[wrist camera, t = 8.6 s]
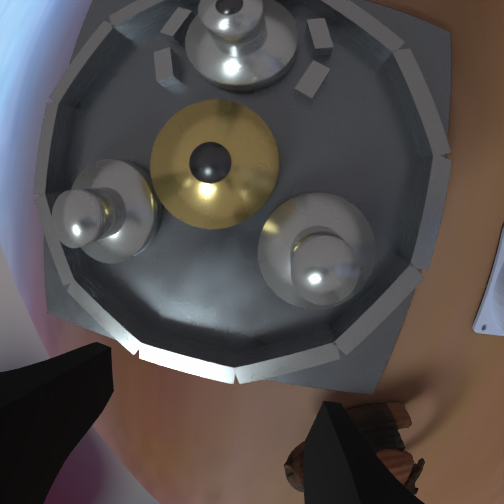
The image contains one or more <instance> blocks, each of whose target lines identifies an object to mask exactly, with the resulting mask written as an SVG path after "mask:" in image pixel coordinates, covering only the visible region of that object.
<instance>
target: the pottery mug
mask: <svg viewBox="0 0 504 504" xmlns="http://www.w3.org/2000/svg"><path fill="white" fill-rule="evenodd" d="M346 411H347V413H348V415H349V416H350V418H351V419H352V421H353V422H354V424H355V425H356V427H357V428H358V430H359V431H360V433H361V434H362V436H363V437H364V439H365V440H366V441H367V443H368V444H369V446H370V447H371V448H372V450H373V451H374V452H375V454H376V455H377V456H378V458H379V459H380V460H381V461H382V462H383V464H384V465H385V466H386V467H387V468H388V470H389V471H390V472H391V473H392V474H393V475H394V476H395V477H396V478H397V479H398V480H399V481H400V482H401V483H402V484H403V485H404V486H405V487H406V488H407V489H408V490H409V491H410V492H411V493H412V494H413V495H415V494H417V491H418V488H415V482H416V480H417V479H418V477H419V476H420V474H421V472H422V470H423V466H424V464H425V461H424V459H423V458H421V459H420V460H419V461H418V464H416V463H415V464H414V461H413V457H412V455H411V454H410V453H408V452H407V451H404V449H405V447H404V444H403V441H402V439H401V436H400V434H399V432H398V429H401V428H409V427H410V426H411V424H412V422H411V418H410V416H409V414H408V412H407V410H406V409H405V406H404V404H403V403H400V402H391V403H379V404H369V405H363V406H359V407H354V408H351V409H348V410H346ZM304 446H305V441H304V442H302V443H301V444H299V445H298V446H297V447H296V448H295V449H294V450H293V451H292V452H291V454H290V455H289V457H288V459H287V462H286V463H285V464H284V468H285V473H286V477H287V480H288V482H289V483H290V485H291V486H292V487H293V488H295V489H296V490H298V491H300V492H304V479H303V458H304Z"/></svg>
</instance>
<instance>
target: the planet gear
mask: <svg viewBox="0 0 504 504" xmlns="http://www.w3.org/2000/svg"><path fill="white" fill-rule="evenodd" d="M185 49H186V53H187V56H188V58H189V60H190V62H191V63H192V65H193V66H194V67H195V68H196V70H197V71H198V72H199V73H200V74H201V75H202V76H203V78H204V79H206V80H207V81H208V82H209V83H211V84H213V85H214V86H217V87H219V88H221V89H225V90H229V91H236V92H247V91H254V90H258V89H262V88H265V87H267V86H269V85H271V84H273V83H275V82H276V81H278V80H279V79H281V78H282V77H283V76H284V75H285V74H286V73H287V72H288V71H289V70H290V68H291V67H292V65H293V63H294V61H295V59H296V55H297V50H298V28H297V24H296V22H295V20H294V18H293V16H292V15H291V13H290V12H289V11H288V10H287V9H286V8H285V7H284V6H282V5H281V4H280V3H278V2H276V1H274V0H201V1H200V3H199V6H198V14H197V15H196V17H195V18H194V19H193V21H192V22H191V24H190V26H189V28H188V30H187V34H186V38H185Z"/></svg>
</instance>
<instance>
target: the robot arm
mask: <svg viewBox="0 0 504 504" xmlns="http://www.w3.org/2000/svg"><path fill="white" fill-rule="evenodd" d="M483 325H484V326H483ZM482 326H483V328H482ZM473 330H474V331H475V332H476V333H483V334H492V335H501V336H504V227H503V229H502V234H501V238H500V242H499V246H498V250H497V254H496V258H495V261H494V265H493V268H492V272H491V275H490V278H489V282H488V285H487V288H486V291H485V294H484V297H483V300H482V302H481V305H480V308H479V311H478V313H477V316H476V318H475V321H474V323H473ZM113 392H114V389H113V376H112V359H111V347H108V346H106V345H103V344H101V343H98V342H95V343H91V344H89V345H86V346H83V347H80V348H78V349H75V350H72V351H70V352H67V353H64V354H62V355H59V356H56V357H54V358H51V359H48V360H45V361H42V362H39V363H35V364H32V365H29V366H26V367H22V368H19V369H14V370H10V371H5V372H0V504H43V503H44V501H45V499H46V496H47V494H48V492H49V490H50V488H51V486H52V484H53V482H54V480H55V478H56V476H57V474H58V473H59V471H60V469H61V467H62V466H63V463H64V462H65V460H66V459H67V457H68V456H69V454H70V453H71V452H72V450H73V449H74V448H75V446H76V445H77V444H78V443H79V441H80V440H81V439H82V437H83V436H84V435H85V434H86V432H87V431H88V430H89V429H90V427H91V426H92V425H93V423H94V422H95V421H96V419H97V418H98V417H99V415H100V414H101V413H102V411H103V410H104V408H105V406H106V404H107V403H108V401H109V399H110V397H111V395H112V393H113ZM303 479H304V499H305V504H424V503H423V502H422V501H421V500H419V499H418V498H417V497H416V496H414V495H413V494H412V493H411V492H410V491H409V490H408V489H407V488H406V487H405V486H404V485H403V484H402V483H401V482H400V481H399V480H398V479H397V478H396V477H395V476H394V475H393V474H392V473H391V472H390V471H389V470H388V468H387V467H386V466H385V465H384V464H383V462H382V461H381V460H380V459H379V458H378V456H377V455H376V454H375V452H374V451H373V450H372V448H371V447H370V446H369V444H368V443H367V441H366V440H365V439H364V437H363V436H362V434H361V433H360V431H359V430H358V428H357V427H356V425H355V424H354V422H353V421H352V419H351V418H350V416H349V415H348V413H347V411H346V410H345V408H344V407H343V405H342V404H341V403H335V402H327V401H323V403H322V405H321V408H320V410H319V412H318V414H317V417H316V419H315V421H314V423H313V425H312V427H311V429H310V432H309V434H308V436H307V438H306V440H305V446H304V458H303Z"/></svg>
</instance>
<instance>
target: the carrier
mask: <svg viewBox="0 0 504 504" xmlns="http://www.w3.org/2000/svg"><path fill="white" fill-rule="evenodd" d="M200 1H201V0H93V1H92V3H91V6H90V8H89V10H88V13H87V15H86V18H85V20H84V23H83V26H82V28H81V31H80V34H79V37H78V39H77V42H76V45H75V48H74V51H73V54H72V58H71V61H70V64H69V67H68V68H67V70H66V71H65V73H64V74H63V76H62V77H61V79H60V81H59V82H58V84H57V85H56V87H55V88H54V90H53V92H52V93H51V95H50V98H51V99H52V100H53V101H54V102H53V103H47V104H46V109H45V114H44V119H43V124H42V129H41V135H40V141H39V148H38V155H37V163H36V172H35V182H34V194H39V195H40V196H39V197H38V198H36V199H35V200H34V201H35V205H36V208H37V212H38V215H39V219H40V222H41V225H42V228H43V231H44V272H45V290H46V303H47V313H50V314H52V315H54V316H57V317H59V318H61V319H64V320H66V321H69V322H71V323H73V324H76V325H78V326H81V327H84V328H86V329H89V330H91V331H94V332H97V333H99V334H102V335H105V336H108V337H110V338H113V339H116V340H117V341H118V342H120V343H121V344H122V345H123V346H124V347H125V348H126V349H127V350H129V351H130V352H131V353H132V354H133V355H134V354H135V353H136V352H137V351H138V349H139V358H140V359H143V360H147V361H150V362H153V363H156V364H159V365H163V366H166V367H169V368H173V369H176V370H180V371H183V372H187V373H191V374H194V375H198V376H202V377H206V378H210V379H214V380H218V381H222V382H227V383H231V384H233V382H234V378H235V375H236V377H237V379H238V381H239V383H240V384H243V383H247V382H252V381H257V380H261V379H265V380H271V381H276V382H282V383H287V384H293V385H300V386H306V387H313V388H320V389H328V390H336V391H344V392H353V393H364V394H373V393H374V390H375V388H376V386H377V384H378V382H379V380H380V378H381V375H382V373H383V371H384V369H385V367H386V364H387V362H388V360H389V357H390V355H391V352H392V350H393V348H394V345H395V343H396V340H397V338H398V335H399V333H400V330H401V327H402V325H403V322H404V319H405V316H406V314H407V311H408V308H409V305H410V302H411V299H412V296H413V293H414V290H415V287H416V286H417V285H418V284H419V283H420V282H421V281H422V279H423V278H424V277H423V275H422V274H421V273H420V271H421V269H423V270H427V271H428V269H429V266H430V262H431V259H432V255H433V251H434V247H435V244H436V240H437V236H438V231H439V227H440V223H441V218H442V214H443V209H444V204H445V199H446V194H447V188H448V182H449V176H450V170H451V163H452V160H450V159H447V158H445V154H447V153H451V150H450V147H449V144H448V140H447V136H448V125H449V113H450V96H451V39H450V32H449V31H447V30H444V29H442V28H440V27H438V26H436V25H433V24H431V23H429V22H426V21H424V20H421V19H419V18H416V17H414V16H411V15H408V14H406V13H403V12H400V11H397V10H395V9H392V8H389V7H385V6H382V5H379V4H376V3H372V2H369V1H366V0H274V1H276V2H278V3H280V4H281V5H282V6H284V7H285V8H286V9H287V10H288V11H289V12H290V13H291V15H292V16H293V18H294V20H295V22H296V24H297V28H298V50H297V55H296V59H295V61H294V63H293V65H292V67H291V68H290V70H289V71H288V72H287V73H286V74H285V75H284V76H283V77H282V78H281V79H279V80H278V81H276V82H275V83H273V84H271V85H269V86H267V87H265V88H262V89H258V90H254V91H247V92H236V91H229V90H225V89H221V88H219V87H217V86H214V85H213V84H211V83H209V82H208V81H207V80H206V79H204V78H203V76H202V75H201V74H200V73H199V72H198V71H197V70H196V68H195V67H194V66H193V65H192V63H191V62H190V60H189V58H188V56H187V53H186V49H185V38H186V34H187V30H188V28H189V26H190V24H191V22H192V21H193V19H194V18H195V17H196V15H197V14H198V6H199V3H200Z"/></svg>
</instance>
